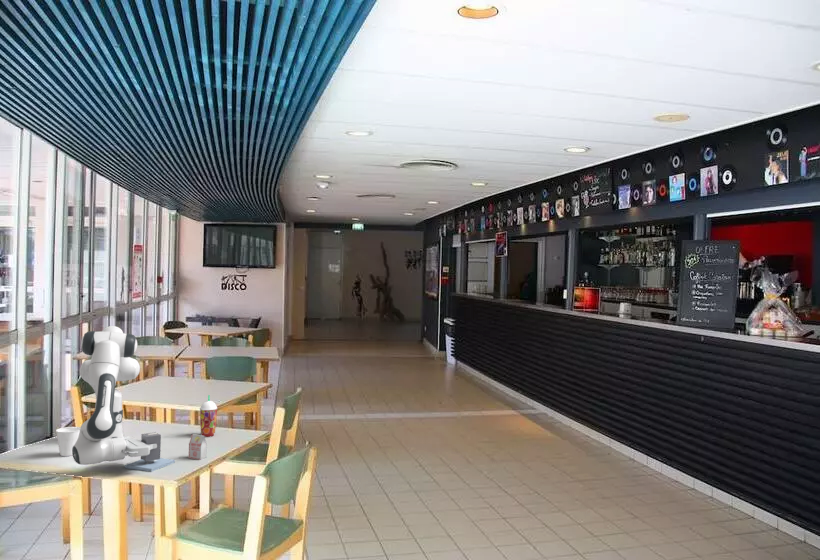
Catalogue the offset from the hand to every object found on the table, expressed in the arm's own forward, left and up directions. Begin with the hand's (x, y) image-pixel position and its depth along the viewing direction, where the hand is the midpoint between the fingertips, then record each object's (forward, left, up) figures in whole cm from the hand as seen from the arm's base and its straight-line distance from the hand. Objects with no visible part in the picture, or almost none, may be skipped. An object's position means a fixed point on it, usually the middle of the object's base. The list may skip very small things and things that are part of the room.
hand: (153, 443), depth 262 cm
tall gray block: (0, -1, -6) cm, 6 cm away
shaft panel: (0, -1, -9) cm, 9 cm away
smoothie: (-10, +51, -9) cm, 53 cm away
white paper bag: (+10, +16, -9) cm, 21 cm away
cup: (-43, -2, -9) cm, 44 cm away
